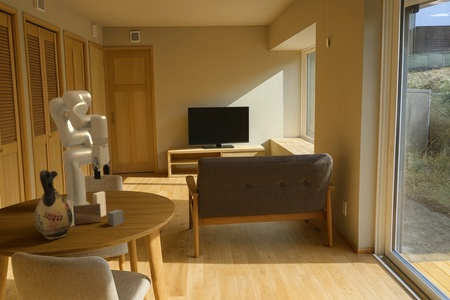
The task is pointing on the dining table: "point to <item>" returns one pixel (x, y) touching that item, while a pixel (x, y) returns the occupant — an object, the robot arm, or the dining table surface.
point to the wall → (97, 199)
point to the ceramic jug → (52, 209)
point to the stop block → (115, 217)
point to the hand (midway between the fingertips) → (102, 177)
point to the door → (87, 213)
